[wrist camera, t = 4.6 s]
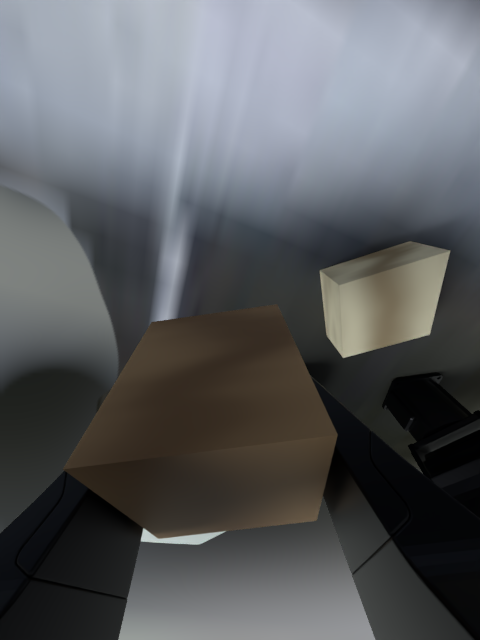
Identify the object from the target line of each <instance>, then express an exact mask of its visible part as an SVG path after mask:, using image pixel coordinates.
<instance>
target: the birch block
mask: <svg viewBox="0 0 480 640" xmlns="http://www.w3.org/2000/svg"><path fill="white" fill-rule="evenodd" d="M449 254H450V250H445V249H441V248H437V247H433V246H429V245H424V244H420V243H416V242H412V241H409V242H406V243H403V244H399V245H396V246H393V247H390V248H387V249H384V250H381V251H378V252H375V253H372V254H368V255H365V256H362V257H359V258H356V259H353V260H350V261H347V262H344V263H340V264H337V265H334V266H331V267H328V268H325V269H322V270H320V278H321V287H322V296H323V306H324V315H325V325H326V334H327V336H328V338H329V339H330V341H331V342H332V343H333V345H334V346H335V347H336V349H337V350H338V352H339V353H340V354H341V356H342V357H343V358H345V357H349V356H353V355H356V354H360V353H364V352H367V351H371V350H375V349H378V348H382V347H386V346H390V345H393V344H397V343H401V342H404V341H408V340H412V339H416V338H419V337H423V336H427V335H430V331H431V327H432V323H433V319H434V315H435V311H436V307H437V303H438V299H439V295H440V291H441V287H442V283H443V279H444V275H445V271H446V267H447V262H448V258H449Z"/></svg>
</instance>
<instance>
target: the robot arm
mask: <svg viewBox="0 0 480 640" xmlns="http://www.w3.org/2000/svg"><path fill="white" fill-rule="evenodd" d="M311 378H312V381H313V383H314V385H315V387H316V389H317V391H318V394H319V396H320V398H321V400H322V402H323V404H324V406H325V409H326V411H327V413H328V415H329V417H330V419H331V422H332V424H333V426H334V428H335V430H336V432H337V435H338V436H337V440H336V444H335V448H334V452H333V456H332V460H331V464H330V468H329V472H328V476H327V480H326V484H325V489H324V493H323V497H324V500H325V502H326V505H327V508H328V511H329V514H330V516H331V519H332V522H333V525H334V527H335V530H336V533H337V535H338V538H339V541H340V543H341V546H342V549H343V552H344V555H345V557H346V560H347V563H348V565H349V568H350V571H351V573H352V577H353V579H354V582H355V585H356V587H357V590H358V593H359V595H360V598H361V601H362V604H363V606H364V609H365V612H366V615H367V617H368V620H369V623H370V626H371V628H372V631H373V634H374V636H375V639H376V640H480V411H479V410H477V411H475V412H473V413H474V414H471V413H470V412H469V411H468V410H467V409H466V408H465V407H464V406H462V405H461V404H460V403H459V402H458V401H457V400H456V399H455V398H453V397H452V396H451V395H450V394H449V393H448V392H447V391H445V390H444V389H443V388H442V387H441V386H440V385H439V383H440V381H441V380H442V378H443V376H442V375H441V374H439V373H436V374H429V375H422V376H414V377H407V378H399V379H395V380H393V381H392V384H391V386H390V388H389V391H388V393H387V396H386V398H385V400H384V403H383V405H382V407H383V409H384V410H390V412H391V413H392V414H393V416H394V417H395V418H396V420H397V421H398V422H399V423H400V425H401V426H402V427H403V429H404V430H406V431H409V432H410V433H411V435H412V436H413V437H414V438H415V440H416V441H417V442H416V443H414V444H410V445H408V447H409V449H410V450H411V454H412V455H413V457H414V459H415V461H416V462H417V464H418V466H419V467H420V469H421V471H422V472H423V474H424V475H423V474H422V473H421V472H420V471H418V470H417V469H416V468H415V467H414V466H412V465H411V464H410V463H409V462H407V461H406V460H405V459H404V458H402V457H401V456H400V455H399V454H398V453H397V452H395V451H394V450H393V449H392V448H391V447H390V446H388V445H387V444H386V443H385V442H384V441H383V440H382V439H380V438H379V437H378V436H377V435H376V434H375V433H374V432H373V431H370V429H369V428H368V427H367V426H366V425H365V424H364V423H363V422H362V421H360V420H359V419H358V418H357V417H356V416H355V415H354V414H353V413H352V412H350V411H349V410H348V409H347V408H346V407H345V406H344V405H343V404H342V403H340V402H339V401H338V400H337V399H336V398H335V397H334V396H333V395H332V394H330V393H329V392H328V391H327V390H326V389H325V388H324V387H323V386H322V385H320V384H319V383H318V382H317V381H316V380H315V379H314V378H313V377H312V376H311ZM142 533H143V527H141V526H140V525H139V524H137V523H136V522H134V521H133V520H132V519H130V518H129V517H128V516H126V515H125V514H123V513H122V512H121V511H119V510H118V509H117V508H115V507H114V506H112V505H111V504H110V503H108V502H107V501H106V500H104V499H103V498H102V497H100V496H99V495H97V494H96V493H95V492H93V491H92V490H91V489H89V488H88V487H86V486H85V485H84V484H82V483H81V482H80V481H78V480H77V479H75V478H74V477H73V476H71V475H70V474H69V473H67V472H66V471H63V472H62V473H61V475H60V476H59V477H58V478H57V479H56V480H55V481H54V482H53V483H52V484H51V485H50V486H49V487H48V488H47V489H46V490H45V491H44V492H43V493H42V494H41V495H40V496H39V497H38V498H37V499H36V500H35V501H34V502H33V503H32V504H31V505H30V506H29V507H27V508H26V509H25V510H24V511H23V512H22V513H21V514H20V515H19V516H18V517H17V518H16V519H15V520H14V521H13V522H12V523H11V524H10V525H9V526H8V527H6V528H5V529H4V530H3V531H2V532H1V533H0V640H118V638H119V634H120V629H121V625H122V621H123V616H124V612H125V608H126V603H127V597H128V593H129V589H130V585H131V580H132V576H133V572H134V568H135V563H136V558H137V554H138V550H139V546H140V541H141V537H142Z"/></svg>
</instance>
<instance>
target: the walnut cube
mask: <svg viewBox="0 0 480 640" xmlns="http://www.w3.org/2000/svg"><path fill="white" fill-rule="evenodd" d="M337 436H338V435H337V432H336V430H335V428H334V426H333V424H332V422H331V419H330V417H329V415H328V413H327V411H326V409H325V406H324V404H323V402H322V400H321V398H320V396H319V394H318V391H317V389H316V387H315V385H314V383H313V381H312V378H311V376H310V374H309V372H308V370H307V368H306V365H305V363H304V361H303V359H302V357H301V355H300V353H299V350H298V348H297V346H296V344H295V342H294V340H293V337H292V335H291V333H290V331H289V329H288V327H287V324H286V322H285V320H284V318H283V316H282V314H281V312H280V309H279V307H278V305H277V304H276V305H269V306H262V307H255V308H248V309H241V310H234V311H227V312H220V313H213V314H206V315H199V316H192V317H185V318H178V319H171V320H164V321H157V322H152V323H151V324H150V326H149V328H148V329H147V331H146V333H145V334H144V336H143V337H142V339H141V341H140V342H139V344H138V346H137V347H136V349H135V351H134V352H133V354H132V356H131V357H130V359H129V361H128V362H127V364H126V366H125V367H124V369H123V371H122V372H121V374H120V376H119V377H118V379H117V381H116V382H115V384H114V385H113V387H112V389H111V390H110V392H109V394H108V395H107V397H106V399H105V400H104V402H103V404H102V405H101V407H100V409H99V410H98V412H97V414H96V415H95V417H94V419H93V420H92V422H91V424H90V425H89V427H88V429H87V430H86V432H85V434H84V435H83V437H82V438H81V440H80V442H79V444H78V445H77V447H76V448H75V450H74V452H73V453H72V455H71V457H70V458H69V460H68V462H67V463H66V465H65V467H64V468H63V470H64V471H66V472H67V473H69V474H70V475H71V476H73V477H74V478H75V479H77V480H78V481H80V482H81V483H82V484H84V485H85V486H86V487H88V488H89V489H91V490H92V491H93V492H95V493H96V494H97V495H99V496H100V497H102V498H103V499H104V500H106V501H107V502H108V503H110V504H111V505H112V506H114V507H115V508H117V509H118V510H119V511H121V512H122V513H123V514H125V515H126V516H128V517H129V518H130V519H132V520H133V521H134V522H136V523H137V524H139V525H140V526H141V527H143V528H144V529H145V530H147V531H148V532H150V533H151V534H152V535H154V536H155V537H156V538H158V539H162V538H171V537H180V536H188V535H197V534H206V533H214V532H223V531H232V530H240V529H248V528H257V527H266V526H275V525H283V524H292V523H301V522H309V521H317V517H318V513H319V509H320V505H321V501H322V497H323V493H324V489H325V484H326V480H327V476H328V472H329V468H330V464H331V460H332V456H333V452H334V448H335V444H336V440H337Z"/></svg>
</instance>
